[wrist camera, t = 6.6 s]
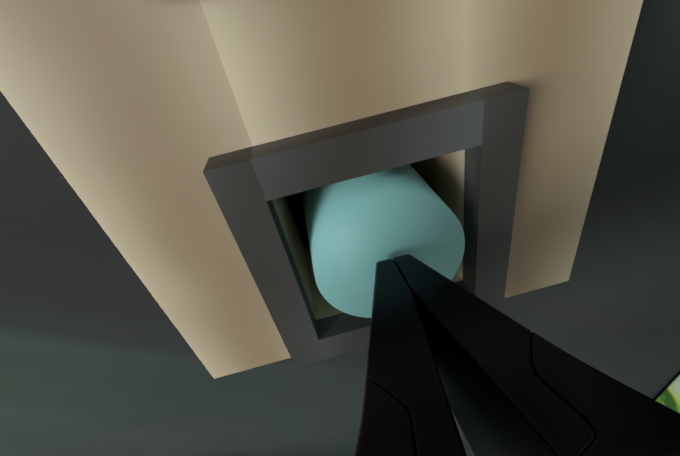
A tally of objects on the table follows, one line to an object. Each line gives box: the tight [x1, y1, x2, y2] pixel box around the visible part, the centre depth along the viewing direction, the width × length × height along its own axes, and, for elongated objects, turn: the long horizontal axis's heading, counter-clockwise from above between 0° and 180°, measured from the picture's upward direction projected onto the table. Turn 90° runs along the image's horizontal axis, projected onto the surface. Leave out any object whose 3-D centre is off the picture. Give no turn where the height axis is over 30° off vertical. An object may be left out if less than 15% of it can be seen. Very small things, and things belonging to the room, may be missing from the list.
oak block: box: [0, 0, 643, 379], centre depth 8 cm, size 13×18×5 cm
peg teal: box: [301, 164, 465, 318], centre depth 11 cm, size 4×4×5 cm
